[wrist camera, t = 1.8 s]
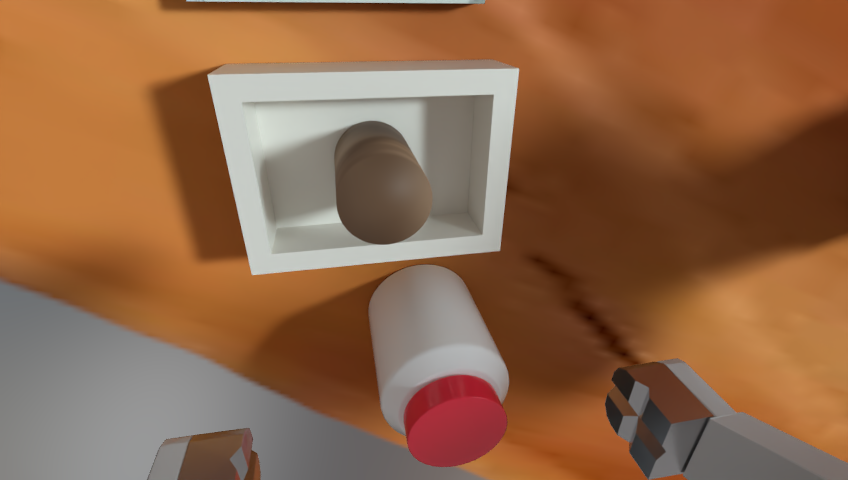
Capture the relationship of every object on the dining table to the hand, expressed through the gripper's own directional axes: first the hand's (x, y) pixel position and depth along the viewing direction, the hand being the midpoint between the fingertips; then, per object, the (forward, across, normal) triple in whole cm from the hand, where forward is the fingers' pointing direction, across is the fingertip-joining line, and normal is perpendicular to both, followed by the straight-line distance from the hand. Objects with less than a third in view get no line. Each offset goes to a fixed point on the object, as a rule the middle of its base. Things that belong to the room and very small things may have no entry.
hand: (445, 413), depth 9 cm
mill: (+18, 0, 0) cm, 18 cm away
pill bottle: (+19, -3, +12) cm, 23 cm away
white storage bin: (+19, 0, 0) cm, 19 cm away
